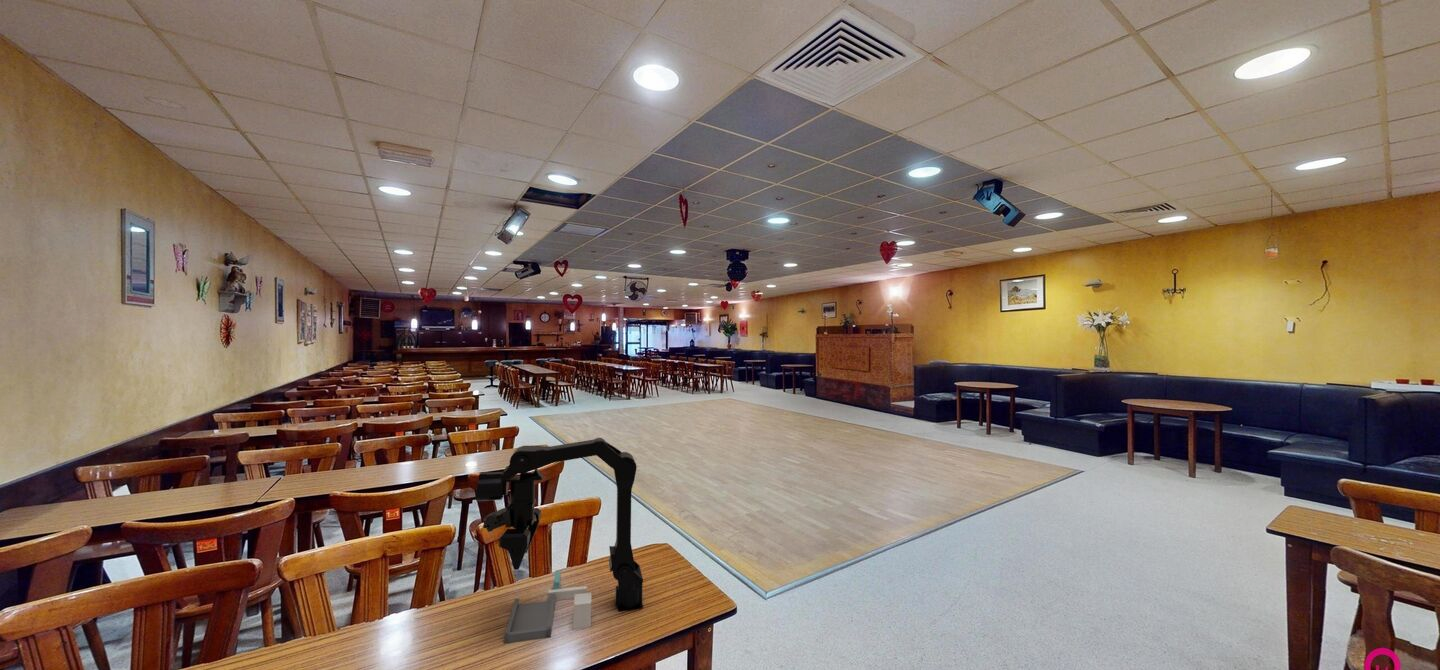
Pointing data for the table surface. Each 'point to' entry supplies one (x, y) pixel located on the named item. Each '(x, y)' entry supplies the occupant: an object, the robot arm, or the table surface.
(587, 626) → the block
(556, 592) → the gate
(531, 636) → the grey base plate
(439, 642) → the table surface
